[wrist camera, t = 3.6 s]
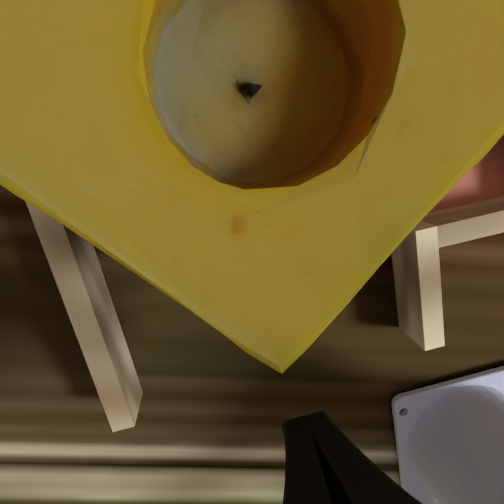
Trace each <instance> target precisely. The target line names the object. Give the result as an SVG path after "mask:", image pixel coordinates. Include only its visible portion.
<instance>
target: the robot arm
mask: <svg viewBox="0 0 504 504" xmlns="http://www.w3.org/2000/svg"><path fill="white" fill-rule="evenodd" d="M403 408H404V410H403V411H401V412H400V410H401V409H403ZM392 412H393V421H394V429H395V438H396V447H397V456H398V464H399V473H400V482H401V487H400V486H399V485H398V484H397V483H395V482H394V481H393V480H392V479H391V478H390V477H388V476H387V475H386V474H385V473H384V472H383V471H381V470H380V469H379V468H378V467H377V466H376V465H375V464H374V463H373V462H372V461H371V460H370V459H368V458H367V457H366V456H365V455H364V454H363V453H362V452H361V451H360V450H359V449H358V448H357V447H356V446H355V445H354V444H353V443H352V442H351V441H350V440H349V439H348V438H347V437H346V435H345V434H344V433H343V432H342V431H341V430H340V429H339V428H338V427H337V425H336V424H335V423H334V422H333V421H332V420H331V418H330V417H329V416H328V414H327V413H325V412H324V411H321V412H317V413H313V414H309V415H306V416H302V417H298V418H295V419H291V420H287V421H285V422H284V423H283V424H282V428H283V432H284V437H285V451H286V467H285V488H284V498H283V504H504V366H501V367H498V368H494V369H490V370H486V371H483V372H479V373H475V374H471V375H468V376H464V377H460V378H456V379H453V380H449V381H445V382H441V383H438V384H434V385H430V386H426V387H423V388H419V389H415V390H411V391H408V392H404V393H400V394H398V395H396V396H395V397H393V399H392Z"/></svg>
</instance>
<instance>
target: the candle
mask: <svg viewBox="0 0 504 504" xmlns="http://www.w3.org/2000/svg"><path fill="white" fill-rule="evenodd" d="M503 135H504V0H0V185H1V186H3V187H4V188H6V189H7V190H9V191H10V192H12V193H13V194H15V195H16V196H18V197H19V198H21V199H23V200H24V201H26V202H28V203H29V204H31V205H32V206H34V207H36V208H37V209H39V210H41V211H42V212H44V213H46V214H47V215H49V216H50V217H52V218H54V219H55V220H57V221H58V222H60V223H61V224H63V225H64V226H66V227H67V228H69V229H70V230H72V231H73V232H75V233H76V234H78V235H79V236H81V237H82V238H84V239H85V240H87V241H88V242H90V243H91V244H93V245H94V246H96V247H97V248H99V249H100V250H102V251H103V252H105V253H106V254H107V255H109V256H110V257H112V258H113V259H115V260H116V261H118V262H119V263H121V264H122V265H124V266H125V267H127V268H128V269H130V270H131V271H132V272H134V273H135V274H137V275H138V276H140V277H141V278H143V279H144V280H146V281H147V282H148V283H150V284H151V285H153V286H154V287H156V288H157V289H159V290H160V291H162V292H163V293H164V294H166V295H167V296H169V297H170V298H172V299H173V300H175V301H176V302H177V303H179V304H180V305H182V306H183V307H185V308H186V309H188V310H189V311H191V312H192V313H194V314H195V315H196V316H198V317H199V318H201V319H202V320H204V321H205V322H207V323H208V324H210V325H211V326H212V327H214V328H215V329H217V330H218V331H220V332H221V333H222V334H223V335H225V336H226V337H227V338H229V339H230V340H231V341H232V342H234V343H235V344H236V345H237V346H239V347H240V348H241V349H243V350H244V351H245V352H246V353H248V354H249V355H251V356H253V357H254V358H256V359H258V360H259V361H261V362H263V363H264V364H266V365H268V366H269V367H271V368H273V369H275V370H276V371H278V372H280V373H281V374H282V373H283V372H284V371H285V370H286V369H287V368H288V367H289V366H290V365H291V364H292V363H294V362H295V361H296V360H297V359H298V358H299V357H300V356H301V355H302V354H303V353H304V352H305V351H306V350H307V349H308V348H309V346H310V345H311V344H312V343H313V342H314V341H315V340H316V339H317V338H318V336H319V335H320V334H321V333H322V332H323V331H324V330H325V329H326V328H327V326H328V325H329V324H330V323H331V322H332V321H333V320H334V319H335V317H336V316H337V315H338V314H339V313H340V312H341V311H342V310H343V309H344V307H345V306H346V305H347V304H348V303H349V302H350V301H351V300H352V298H353V297H354V296H355V295H356V294H357V293H358V291H359V290H360V289H361V288H362V287H363V285H364V284H365V283H366V282H367V281H368V280H369V278H370V277H371V276H372V275H373V274H374V273H375V271H376V270H377V269H378V268H379V267H380V266H381V264H382V263H383V262H384V261H385V260H386V259H387V258H388V257H389V256H390V254H391V253H392V252H393V251H394V250H395V249H396V248H397V247H398V246H399V245H400V243H401V242H402V241H403V240H404V239H405V238H406V237H407V236H408V235H409V233H410V232H411V231H412V230H413V229H414V228H415V227H416V226H417V225H418V223H419V222H420V221H421V220H422V219H423V218H424V217H425V216H426V215H427V214H428V213H429V212H430V211H431V210H432V209H433V208H434V206H435V205H436V204H437V203H438V202H439V201H440V200H441V199H442V198H443V197H444V196H445V195H446V194H447V193H448V192H449V191H450V190H451V189H452V188H453V187H454V186H455V184H456V183H457V182H458V181H459V180H461V179H462V178H463V177H464V176H465V175H466V174H467V173H468V172H469V171H470V170H471V169H472V168H473V167H474V166H475V165H476V164H477V163H478V162H479V161H480V160H481V159H483V158H484V156H485V155H486V154H487V153H488V152H489V151H490V149H491V148H492V147H493V146H494V145H495V144H496V143H497V141H498V140H499V139H500V138H501V137H502V136H503Z"/></svg>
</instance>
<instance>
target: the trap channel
mask: <svg viewBox="0 0 504 504" xmlns="http://www.w3.org/2000/svg"><path fill="white" fill-rule="evenodd" d="M25 202H26V201H25ZM26 204H27V207H28V210H29V212H30V215H31V217H32V220H33V223H34V225H35V228H36V231H37V233H38V236H39V239H40V241H41V244H42V247H43V249H44V252H45V254H46V257H47V260H48V262H49V265H50V268H51V270H52V273H53V276H54V278H55V281H56V284H57V286H58V289H59V291H60V294H61V297H62V299H63V302H64V305H65V307H66V310H67V313H68V315H69V318H70V321H71V323H72V326H73V328H74V331H75V334H76V336H77V339H78V342H79V344H80V347H81V350H82V352H83V355H84V358H85V360H86V363H87V365H88V368H89V371H90V373H91V376H92V379H93V381H94V384H95V387H96V389H97V392H98V395H99V397H100V400H101V402H102V405H103V408H104V410H105V413H106V416H107V418H108V421H109V424H110V426H111V429H112V432H115V431H119V430H123V429H127V428H131V427H135V423H136V419H137V415H138V411H139V407H140V403H141V398H142V394H143V391H142V388H141V385H140V382H139V379H138V376H137V373H136V370H135V367H134V364H133V361H132V358H131V355H130V352H129V349H128V347H127V344H126V341H125V338H124V335H123V332H122V329H121V326H120V323H119V320H118V317H117V314H116V311H115V308H114V305H113V302H112V299H111V296H110V293H109V290H108V287H107V284H106V281H105V278H104V275H103V272H102V270H101V267H100V264H99V261H98V258H97V255H96V252H95V249H94V246H93V244H91V243H90V242H88V241H87V240H85V239H84V238H82V237H81V236H79V235H78V234H76V233H75V232H73V231H72V230H70V229H69V228H67V227H66V226H64V225H63V224H61V223H60V222H58V221H57V220H55V219H54V218H52V217H50V216H49V215H47V214H46V213H44V212H42V211H41V210H39V209H37V208H36V207H34V206H32V205H31V204H29V203H28V202H26ZM502 232H504V135H503V136H502V137H501V138H500V139H499V140H498V141H497V143H496V144H495V145H494V146H493V147H492V148H491V149H490V151H489V152H488V153H487V154H486V155H485V156H484V158H483V159H481V160H480V161H479V162H478V163H477V164H476V165H475V166H474V167H473V168H472V169H471V170H470V171H469V172H468V173H467V174H466V175H465V176H464V177H463V178H462V179H461V180H459V181H458V182H457V183H456V184H455V186H454V187H453V188H452V189H451V190H450V191H449V192H448V193H447V194H446V195H445V196H444V197H443V198H442V199H441V200H440V201H439V202H438V203H437V204H436V205H435V206H434V208H433V209H432V210H431V211H430V212H429V213H428V214H427V215H426V216H425V217H424V218H423V219H422V220H421V221H420V222H419V223H418V225H417V226H416V227H415V228H414V229H413V230H412V231H411V232H410V233H409V235H408V236H407V237H406V238H405V239H404V240H403V241H402V242H401V243H400V245H399V246H398V247H397V248H396V249H395V250H394V251H393V252H392V263H393V273H394V283H395V293H396V303H397V313H398V323H399V328H400V329H401V330H403V331H404V332H405V333H406V334H407V335H408V336H409V337H410V338H411V339H413V340H414V341H415V342H416V343H417V344H418V345H419V346H420V347H421V348H422V349H424V350H425V351H427V350H431V349H434V348H438V347H442V346H445V342H444V326H443V310H442V294H441V278H440V262H439V248H440V247H444V246H448V245H452V244H457V243H461V242H465V241H469V240H473V239H477V238H481V237H486V236H490V235H494V234H498V233H502Z"/></svg>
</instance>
